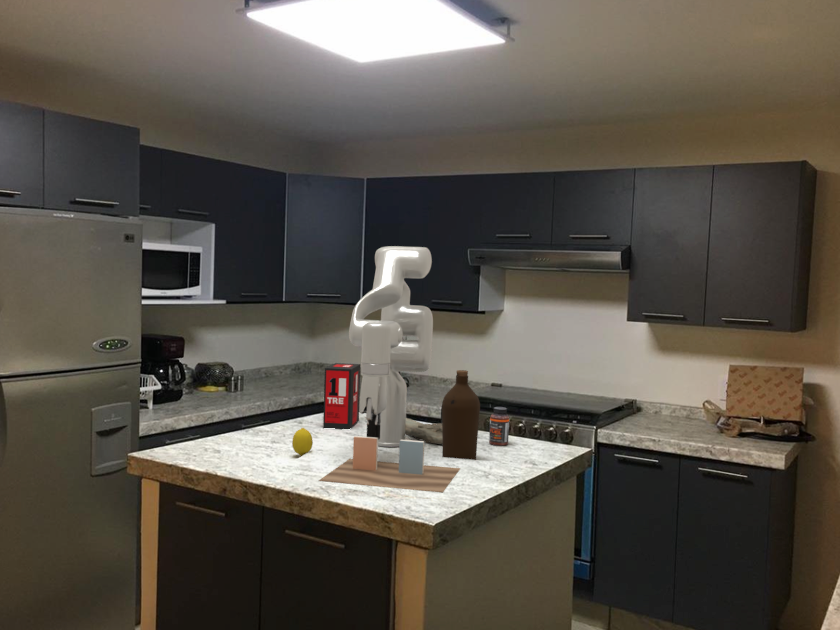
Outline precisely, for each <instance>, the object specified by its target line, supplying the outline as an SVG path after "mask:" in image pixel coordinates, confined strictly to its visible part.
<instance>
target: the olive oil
mask: <svg viewBox="0 0 840 630" xmlns="http://www.w3.org/2000/svg"><path fill="white" fill-rule="evenodd" d="M468 374H469V371H468V370H467V369H466V370H464V369H457V370H456V375H455V384H454V385H453V386H452V387H451V389H449V390H448V391H447V392H446V393H445V395H444V397H443V400H442V403H441V419H442V420H441V423H442V438H443V444H441V446H442V452H441V453H442V454H441V455H442V458H446V459H447V458H448V459H457V460H459V459H460V460H469V461H470V460H473V461H476V460H477V451H478V450H477V449H478V448H477V447H478V434H479V425H480V424H479V422H480V413H481V412H480V411H481V402H480V399H479V396H478V394H476V392H475V391H474V390H473V389H472V387H471V386H470V385H469V375H468Z"/></svg>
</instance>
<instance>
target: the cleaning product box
mask: <svg viewBox="0 0 840 630" xmlns="http://www.w3.org/2000/svg"><path fill="white" fill-rule="evenodd" d="M323 380H324V381H323V382H324V384H323V386H324V387H323V388H324V390H323V392H324V393H323V419H322V420H323V421H322V422H323V423H322V427H323V428H322V429H324V428H335V429H334V430H342V429H350V428H351V429H353V427H354V426H355V425H356V424H358V423H359V421H360V412H359V407H360V394H361V363H341V362H340V363H339V362H338V363H337V362H335V363H332V364H330V365H329V366H327V367H325V368H324V379H323ZM351 429H350V430H351Z"/></svg>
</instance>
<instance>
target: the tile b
mask: <svg viewBox="0 0 840 630" xmlns="http://www.w3.org/2000/svg"><path fill="white" fill-rule="evenodd" d="M398 448H399V450H398V454H399V455H398V463H399V473H409V474H421V475H422V474H423V471H424V465H425V464H424V463H425V442H424V441H423V440H411V439H410V440H400V445H399V447H398Z"/></svg>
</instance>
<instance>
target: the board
mask: <svg viewBox="0 0 840 630" xmlns="http://www.w3.org/2000/svg"><path fill="white" fill-rule="evenodd" d="M460 470H461V467H460V468H459V467H450V466H449V467H448V466H437V465H427V464H424V471H423V474H422V475H421V474H409V473H399V462H391V461H380V460H378V461H377V470H365V469H353V458H348V459H347V460H346V461H344V462H342V463H341V464H340V465H339V466H337V467H335V468H334V469H333V470H331V471H330V472H329V473H327V474H326V475H324V476H323V477H321V478H320V479H319V480H318V482H325V483H326V482H327V483H336V484H338V483H339V484H348V485H357V486H367V487H379V488H388V489H389V488H390V489H398V490H399V489H400V490H409V491H410V490H413V491H422V492H432V493H433V492H434V493H444V492H445V491H446V489H447V488H448V486H449V485H450V484H451V482H452V480H454V479H455V477H456V475H457V474H458V472H460ZM354 491H356V490H354ZM426 498H428V497H426Z"/></svg>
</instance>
